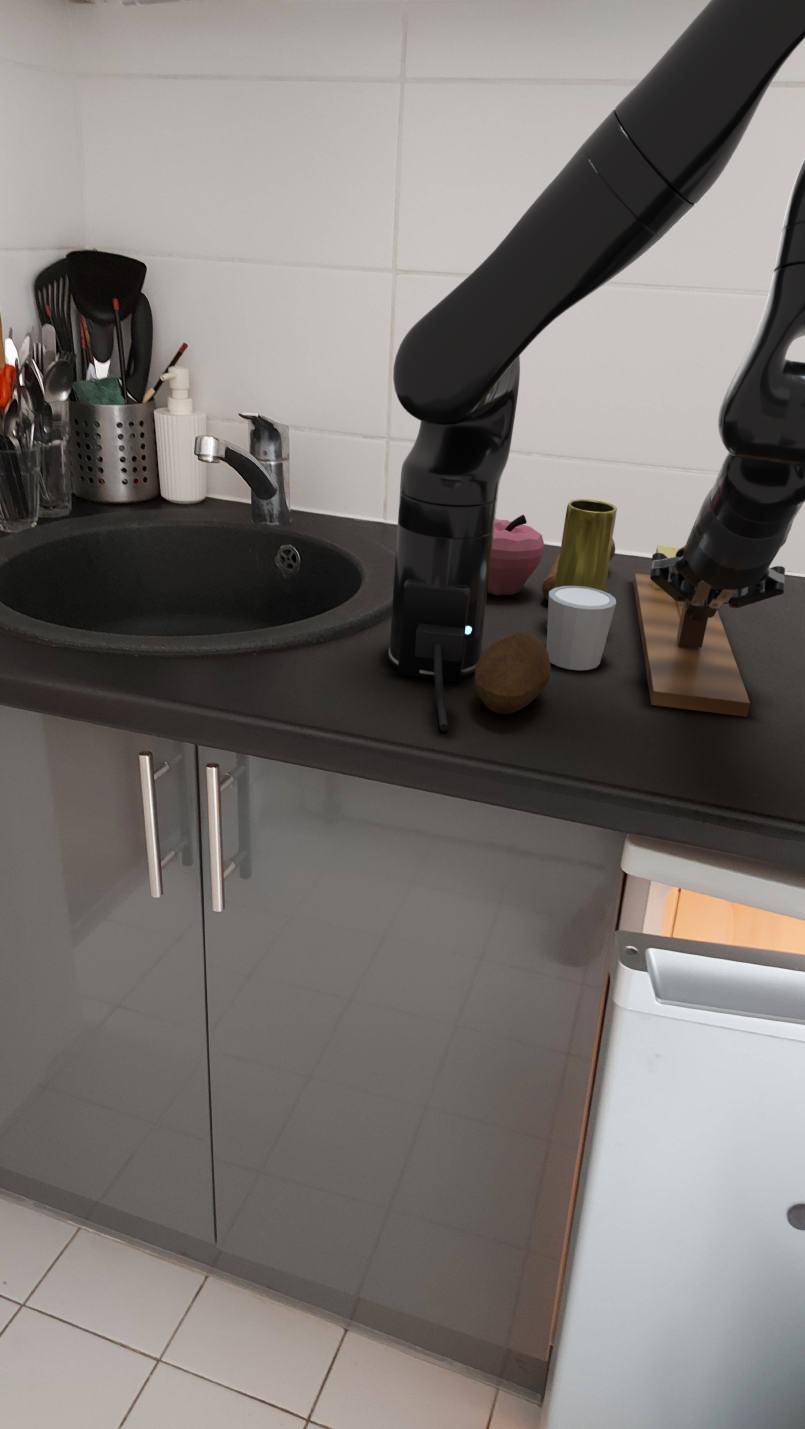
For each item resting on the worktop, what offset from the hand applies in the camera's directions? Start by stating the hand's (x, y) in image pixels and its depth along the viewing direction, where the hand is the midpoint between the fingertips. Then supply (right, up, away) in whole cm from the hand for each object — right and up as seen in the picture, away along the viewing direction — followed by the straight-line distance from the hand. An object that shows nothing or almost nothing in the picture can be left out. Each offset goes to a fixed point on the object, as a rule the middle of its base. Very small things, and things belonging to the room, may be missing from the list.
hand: (697, 612), depth 104 cm
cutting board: (+1, -2, +9) cm, 9 cm away
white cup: (-12, -5, +2) cm, 14 cm away
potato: (-20, -10, -9) cm, 24 cm away
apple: (-19, +4, +19) cm, 27 cm away
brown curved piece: (-8, +5, +23) cm, 25 cm away
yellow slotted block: (+3, +6, +21) cm, 22 cm away
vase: (-11, -1, +9) cm, 15 cm away
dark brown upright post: (+1, +1, +10) cm, 11 cm away
